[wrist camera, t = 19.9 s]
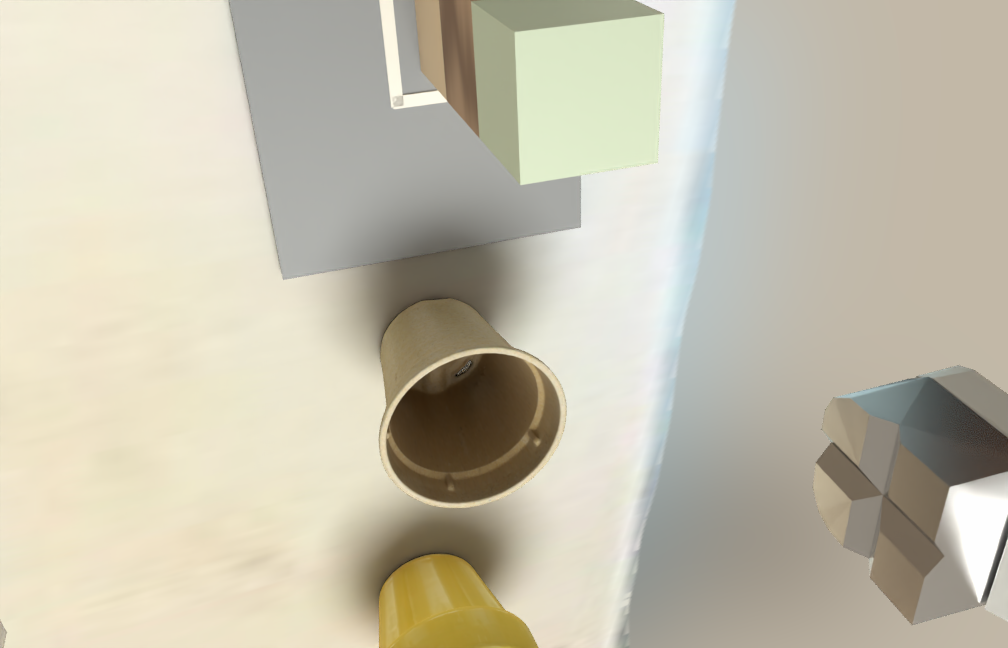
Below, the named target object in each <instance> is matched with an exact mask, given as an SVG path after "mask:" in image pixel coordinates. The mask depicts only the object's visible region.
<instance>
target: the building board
mask: <svg viewBox="0 0 1008 648" xmlns="http://www.w3.org/2000/svg"><path fill="white" fill-rule="evenodd" d="M229 3H230V8H231V13H232V18H233V23H234V29H235V34H236V39H237V44H238V49H239V55H240V60H241V65H242V70H243V75H244V80H245V86H246V91H247V96H248V101H249V106H250V111H251V117H252V122H253V127H254V132H255V137H256V142H257V148H258V153H259V158H260V163H261V168H262V174H263V179H264V184H265V189H266V194H267V199H268V205H269V210H270V215H271V220H272V225H273V230H274V236H275V241H276V246H277V251H278V256H279V261H280V267H281V272H282V277H283V280H285V279H291V278H296V277H302V276H308V275H313V274H319V273H325V272H330V271H336V270H342V269H347V268H353V267H359V266H364V265H370V264H376V263H381V262H387V261H393V260H398V259H404V258H410V257H415V256H421V255H427V254H432V253H438V252H444V251H449V250H455V249H461V248H466V247H472V246H478V245H483V244H489V243H495V242H500V241H506V240H512V239H517V238H523V237H529V236H534V235H540V234H546V233H551V232H557V231H563V230H568V229H574V228H580V227H581V175H580V176H574V177H568V178H562V179H556V180H549V181H543V182H537V183H531V184H525V185H520V184H519V183H518V182H517V181H516V180H515V178H514V177H513V176H512V175H511V174H510V173H509V172H508V170H507V169H506V168H505V167H504V166H503V165H502V164H501V162H500V161H499V160H498V159H497V158H496V157H495V156H494V154H493V153H492V152H491V151H490V150H489V149H488V148H487V146H486V145H485V144H484V143H483V142H482V141H481V140H480V138H479V137H478V136H477V135H476V134H475V133H474V132H473V130H472V129H471V128H470V127H469V126H468V125H467V124H466V122H465V121H464V120H463V119H462V118H461V117H460V116H459V114H458V113H457V112H456V111H455V110H454V109H453V108H452V106H451V105H450V104H449V103H448V102H447V97H446V84H445V72H444V59H443V46H442V34H441V21H440V8H439V0H229Z"/></svg>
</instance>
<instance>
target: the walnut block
mask: <svg viewBox="0 0 1008 648" xmlns="http://www.w3.org/2000/svg"><path fill="white" fill-rule="evenodd" d="M471 1H477V0H439V8H440V21H441V34H442V46H443V59H444V72H445V84H446V97H447V102H448V103H449V104H450V105H451V106H452V108H453V109H454V110H455V111H456V112H457V113H458V114H459V116H460V117H461V118H462V119H463V120H464V121H465V122H466V124H467V125H468V126H469V127H470V128H471V129H472V130H473V132H474V133H475V134H476V135H477V136H478V137H479V123H478V107H477V91H476V75H475V58H474V42H473V26H472V10H471Z"/></svg>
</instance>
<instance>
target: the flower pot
mask: <svg viewBox="0 0 1008 648" xmlns="http://www.w3.org/2000/svg"><path fill="white" fill-rule="evenodd" d="M380 359H381V364H382V371H383V378H384V387H385V396H386V405H387V406H386V410H385V412H384V415H383V418H382V422H381V426H380V432H379V449H380V456H381V460H382V463H383V466H384V468H385V471H386V473H387V474H388V476H389V477H390V479H391V480H392V481H393V482H394V483H395V484H396V486H397V487H398V488H400V489H401V490H402V491H403V492H405V493H406V494H407V495H409V496H411V497H412V498H414V499H416V500H418V501H421V502H423V503H426V504H429V505H433V506H439V507H443V508H468V507H473V506H479V505H483V504H486V503H489V502H492V501H496V500H499V499H501V498H503V497H505V496H507V495H509V494H510V493H513V492H514V491H516V490H518V489H519V488H520V487H522V486H523V485H525V484H526V483H527V482H528V481H530V480H531V479H532V478H534V476H535V475H536V474H537V473H538V472H539V471H540V470H541V469H542V468H543V467H544V466H545V464H546V463H547V462H548V461H549V459H550V458H551V456H552V455H553V453H554V451H555V450H556V448H557V446H558V444H559V442H560V440H561V437H562V434H563V431H564V428H565V422H566V399H565V395H564V392H563V389H562V387H561V384H560V383H559V381H558V379H557V377H556V376H555V375H554V373H553V372H552V371H551V370H550V369H549V368H548V367H547V366H546V365H545V364H544V363H543V362H542V361H541V360H539V359H538V358H536V357H534V356H533V355H531V354H529V353H527V352H525V351H522V350H519V349H516V348H514V347H512V346H511V345H510V344H508V343H507V342H506V341H505V340H504V339H503V338H502V337H501V336H500V335H499V334H498V333H497V332H496V331H495V330H494V329H493V328H492V327H491V326H490V325H489V324H488V323H487V322H486V321H485V320H484V319H483V318H482V317H481V315H480V314H479V313H478V312H477V311H476V310H475V309H474V308H472V307H471V306H469V305H468V304H466V303H463V302H461V301H459V300H455V299H450V298H448V299H438V300H426V301H420V302H418V303H416V304H414V305H412V306H410V307H408V308H407V309H405V310H404V311H402V312H401V313H400V314H399V315H398V316H397V317H396V318H395V319H394V320H393V321H392V323H391V324H390V325H389V327H388V328H387V330H386V332H385V334H384V336H383V339H382V345H381V352H380ZM469 361H472V364H471V366H470V368H469V369H468V370H467V371H466V372H465V373H464V374H462V375H460V376H455V375H456V374H457V373H458V372H459V371H460V370H461V369H462V368H463V367H464V366H466V364H467V363H468V362H469Z"/></svg>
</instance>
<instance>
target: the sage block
mask: <svg viewBox="0 0 1008 648" xmlns="http://www.w3.org/2000/svg"><path fill="white" fill-rule="evenodd" d="M471 10H472V26H473V42H474V58H475V75H476V91H477V107H478V123H479V138H480V140H481V141H482V142H483V143H484V144H485V145H486V146H487V148H488V149H489V150H490V151H491V152H492V153H493V154H494V156H495V157H496V158H497V159H498V160H499V161H500V162H501V164H502V165H503V166H504V167H505V168H506V169H507V170H508V172H509V173H510V174H511V175H512V176H513V177H514V178H515V180H516V181H517V182H518V183H519V184H520V185H525V184H531V183H537V182H543V181H549V180H556V179H562V178H568V177H574V176H580V175H586V174H592V173H599V172H605V171H611V170H617V169H623V168H629V167H635V166H642V165H648V164H654V163H658V145H659V123H660V100H661V77H662V55H663V32H664V13H661V12H659V11H657V10H655V9H652V8H650V7H648V6H646V5H644V4H641V3H639V2H637V1H635V0H477V1H471Z"/></svg>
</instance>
